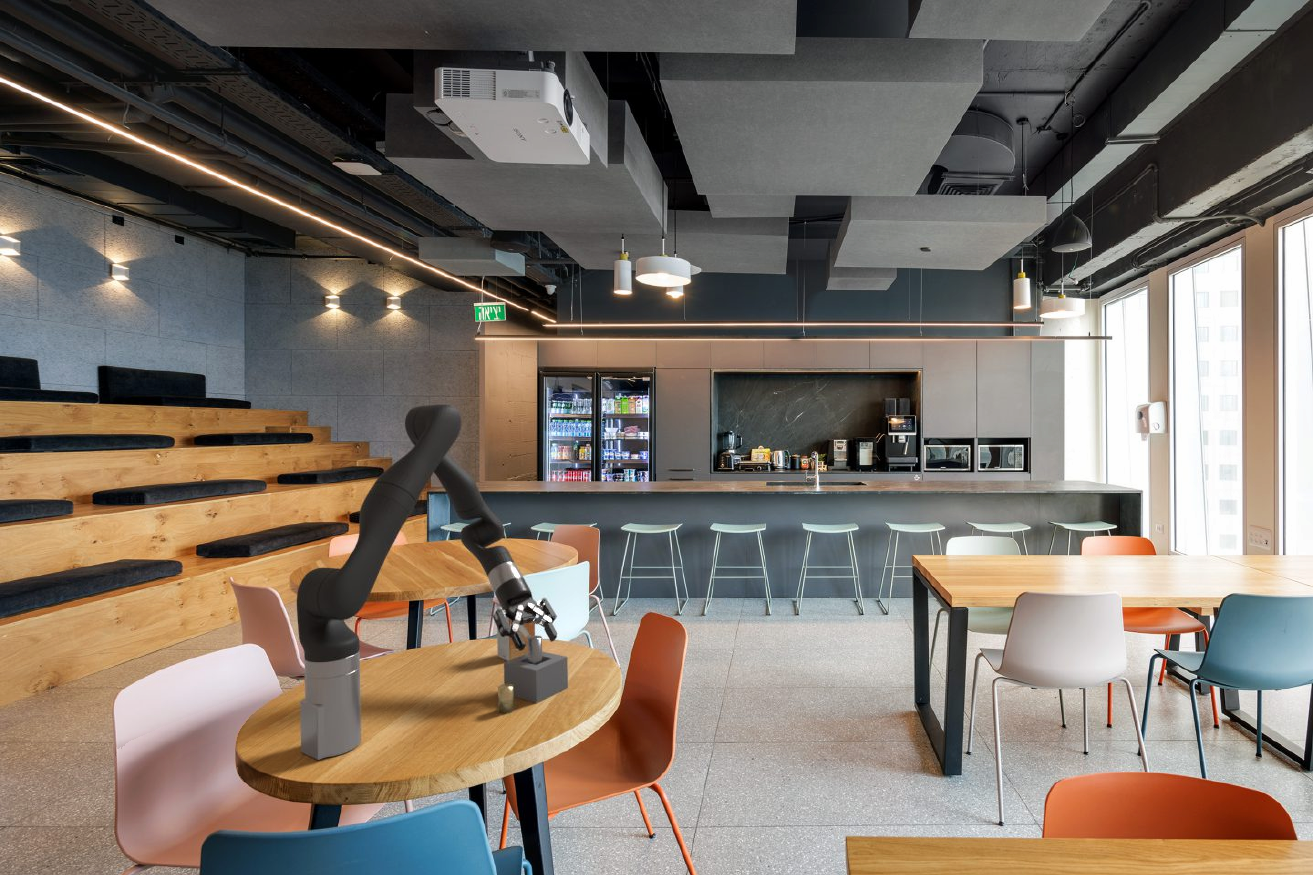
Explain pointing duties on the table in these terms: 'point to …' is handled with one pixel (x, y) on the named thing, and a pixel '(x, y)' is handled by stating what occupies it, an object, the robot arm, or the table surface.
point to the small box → (506, 644)
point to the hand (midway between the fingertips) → (539, 643)
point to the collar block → (537, 676)
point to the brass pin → (505, 698)
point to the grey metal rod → (534, 650)
